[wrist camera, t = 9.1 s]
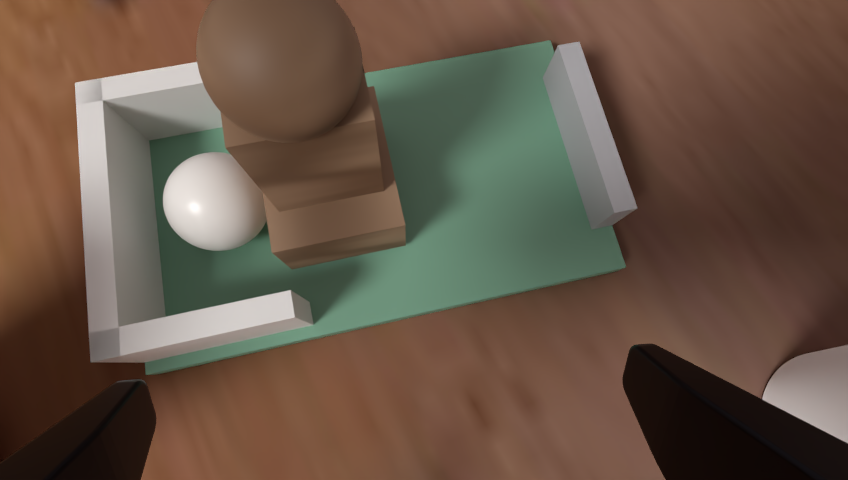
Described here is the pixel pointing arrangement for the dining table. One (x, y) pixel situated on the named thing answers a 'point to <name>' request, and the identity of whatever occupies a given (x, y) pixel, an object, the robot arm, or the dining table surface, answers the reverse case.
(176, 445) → the dining table surface
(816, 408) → the cup
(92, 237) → the pitch
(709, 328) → the dining table surface
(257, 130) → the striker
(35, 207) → the dining table surface
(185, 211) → the ball
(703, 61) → the dining table surface
